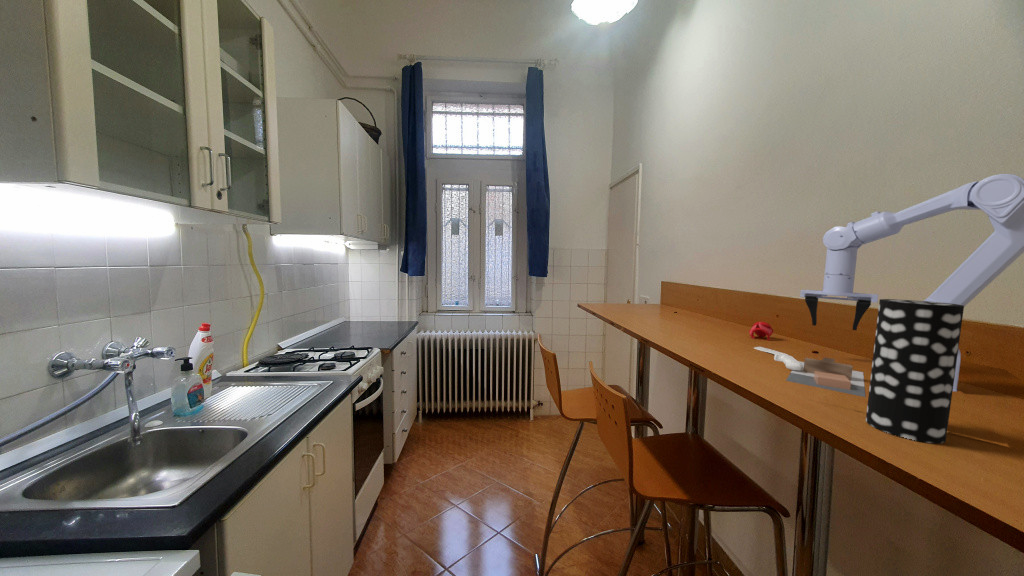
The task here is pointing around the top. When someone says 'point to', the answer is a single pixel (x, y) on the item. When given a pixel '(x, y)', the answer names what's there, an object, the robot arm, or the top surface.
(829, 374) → the tile
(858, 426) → the top surface
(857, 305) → the robot arm
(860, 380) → the board
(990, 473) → the top surface
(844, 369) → the pusher
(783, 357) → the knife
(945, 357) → the spotted tube
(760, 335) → the red openwork dome
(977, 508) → the top surface
